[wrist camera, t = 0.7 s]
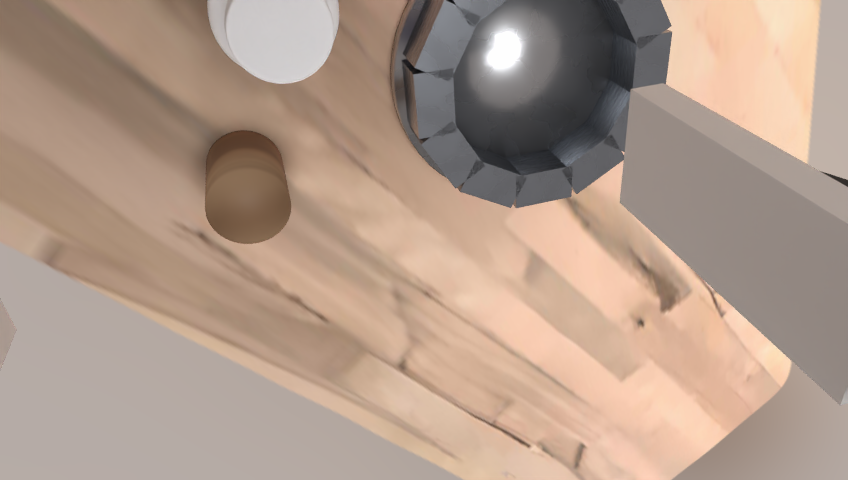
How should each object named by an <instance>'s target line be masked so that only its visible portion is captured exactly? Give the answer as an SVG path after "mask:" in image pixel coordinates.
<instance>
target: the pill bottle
mask: <svg viewBox="0 0 848 480" xmlns="http://www.w3.org/2000/svg"><path fill="white" fill-rule="evenodd" d="M207 10H208V18H209V22H210V26H211V29H212V32H213V34H214V36H215V39H216V41H217V42H218V44H219V46H220V47H221V48H222V50H223V51H224V52H225V53H226V54H227V55H228V56H229V57H230V58H231V59H232V60H233V61H234V62H235V63H237V64H238V65H239V66H241V67H243V68H244V69H245V70H246V71H247V72H249V73H250V74H252V75H253V76H255V77H257V78H259V79H261V80H264V81H266V82H271V83H277V84H288V83H294V82H298V81H301V80H303V79H306V78H307V77H309V76H311V75H312V74H314V73H315V72H316V71H317V70H318V69H319V68H320V67H321V66H322V65H323V64H324V63H325V61H326V60H327V58H328V56H329V54H330V52H331V49H332V46H333V42H334V40H335V37H336V34H337V31H338V25H339V4H338V0H207Z"/></svg>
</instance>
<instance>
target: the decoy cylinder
mask: <svg viewBox="0 0 848 480" xmlns="http://www.w3.org/2000/svg"><path fill="white" fill-rule="evenodd" d="M205 212H206V216H207V219H208V221H209V223H210V225H211V226H212V228H213V229H214V230H215V231H216V232H217V233H218V234H220V235H221V236H222V237H224V238H226V239H228V240H230V241H233V242H237V243H243V244H253V243H259V242H263V241H265V240H268V239H270V238H272V237H273V236H275V235H276V234H278V233H279V232H280V231H281V230H282V229H283V228H284V226H285V225H286V223H287V221H288V219H289V216H290V212H291V201H290V196H289V191H288V186H287V181H286V176H285V172H284V167H283V162H282V158H281V154H280V152H279V150H278V148H277V147H276V146H275V144H274V143H273V142H272V141H271V140H270V139H268V138H267V137H265V136H263V135H261V134H259V133H256V132H252V131H235V132H231V133H229V134H226V135H224V136H222V137H221V138H220V139H218V140H217V141H216V142H215V143H214V144H213V145H212V147H211V149H210V150H209V153H208V155H207V160H206V193H205Z"/></svg>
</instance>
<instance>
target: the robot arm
mask: <svg viewBox="0 0 848 480" xmlns="http://www.w3.org/2000/svg"><path fill="white" fill-rule="evenodd" d="M620 203H621V204H622V205H623V206H624V207H625V208H626V209H627V210H628V211H629V212H631V213H632V214H633V215H634V216H635V217H636V218H637V219H638V220H639V221H640V222H641V223H643V224H644V225H645V226H646V227H647V228H648V229H649V230H650V231H651V232H652V233H653V234H654V235H656V236H657V237H658V238H659V239H660V240H661V241H662V242H663V243H664V244H665V245H666V246H668V247H669V248H670V249H671V250H672V251H673V252H674V253H675V254H676V255H677V256H678V257H679V258H681V259H682V260H683V261H684V262H685V263H686V264H687V265H688V266H689V267H690V268H691V269H693V270H694V271H695V272H696V273H697V274H698V275H699V276H700V277H701V278H702V279H703V280H704V281H706V282H707V283H708V284H709V285H710V286H711V287H712V288H713V289H714V290H715V291H716V292H717V293H719V294H720V295H721V296H722V297H723V298H724V299H725V300H726V301H727V302H728V303H729V304H731V305H732V306H733V307H734V308H735V309H736V310H737V311H738V312H739V313H740V314H741V315H742V316H744V317H745V318H746V319H747V320H748V321H749V322H750V323H751V324H752V325H753V326H754V327H756V328H757V329H758V330H759V331H760V332H761V333H762V334H763V335H764V336H765V337H766V338H767V339H769V340H770V341H771V342H772V343H773V344H774V345H775V346H776V347H777V348H778V349H779V350H781V351H782V352H783V353H784V354H785V355H786V356H787V357H788V358H789V359H790V360H791V361H792V362H794V363H795V364H796V365H797V366H798V367H799V368H800V369H801V370H802V371H803V372H805V373H806V374H807V375H808V376H809V377H810V378H811V379H812V380H813V381H814V382H815V383H816V384H817V385H819V386H820V387H821V388H822V389H823V390H824V391H825V392H826V393H827V394H828V395H829V396H830V397H832V398H833V399H834V400H835V401H836V402H837V403H838V404H839V405H843V404H846V403H848V180H846V179H843V178H840V177H836V176H833V175H831V174H827V173H824V172H821V171H818V170H817V169H815V168H813V167H811V166H810V165H808V164H806V163H804V162H802V161H801V160H799V159H797V158H795V157H794V156H792V155H790V154H788V153H787V152H785V151H783V150H781V149H779V148H778V147H776V146H774V145H772V144H771V143H769V142H767V141H765V140H763V139H762V138H760V137H758V136H756V135H755V134H753V133H751V132H749V131H747V130H746V129H744V128H742V127H740V126H739V125H737V124H735V123H733V122H731V121H730V120H728V119H726V118H724V117H723V116H721V115H719V114H717V113H715V112H714V111H712V110H710V109H708V108H707V107H705V106H703V105H701V104H700V103H698V102H696V101H694V100H692V99H691V98H689V97H687V96H685V95H684V94H682V93H680V92H678V91H676V90H675V89H673V88H671V87H669V86H668V85H666V84H664V83H661V84H656V85H650V86H645V87H639V88H633V89H631V91H630V102H629V112H628V122H627V133H626V143H625V153H624V164H623V174H622V184H621V195H620ZM15 332H16V327H15V326H14V324H13V322H12V320H11V318H10V317H9V314H8V313H7V311H6V309H5V307H4V305H3V303H2V301H1V300H0V370H1V367H2V365H3V362H4V360H5V357H6V355H7V352H8V350H9V347H10V345H11V342H12V340H13V337H14V335H15Z"/></svg>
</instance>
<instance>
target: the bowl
mask: <svg viewBox="0 0 848 480" xmlns="http://www.w3.org/2000/svg"><path fill="white" fill-rule="evenodd" d="M669 27H671V23H670V21H669V19H668V16H667V14H666V12H665V9H664V7H663V5H662V2H661V0H409V2H408V4H407V6H406V8H405V10H404V12H403V14H402V17H401V20H400V23H399V26H398V28H397V31H396V35H395V40H394V45H393V49H392V58H391V88H392V94H393V100H394V105H395V108H396V111H397V114H398V117H399V120H400V122H401V124H402V126H403V128H404V130H405V132H406V134H407V136H408V138H409V139H410V141H411V142H412V144H413V145H414V147H415V148H416V150H417V151H418V153H419V154H420V155H421V156H422V157H423V158H424V159H425V160H426V162H427V163H428V164H429V165H430V166H431V167H433V168H434V169H435V170H436V171H438V172H439V173H440V174H441V175H443V176H445V177H446V178H448V179H449V181H450V182H451V183H452V185H453V186H454V187H455V188H458V189H459V191H460V192H463V193H466V194H469V195H472V196H475V197H479V198H482V199H485V200H488V201H491V202H494V203H497V204H500V205H503V206H507V207H510V208H511V207H512V205H514V206H515V207H516V208H519V207H524V206H529V205H533V204H538V203H543V202H548V201H553V200H558V199H562V198H567V197H571V192H572V190H573V191H574V192H575V193H576V194H578V193H579V192H580V191H582V190H583V189H584V188H586V187H587V186H588V185H590V184H591V183H593V182H594V181H595V180H597V179H598V178H599V177H601V176H602V175H604V174H605V173H606V172H608V171H609V170H610V169H612V168H613V167H614V166H616V165H617V164H619V163H620V162H621V161H623V160H624V155H623V153H622V152H621V151H623V152H625V143H626V133H627V122H628V112H629V102H630V91H631V89H633V88H639V87H645V86H650V85H656V84H661V83H664V84H666V78H667V70H668V62H669V54H670V46H671V37H672V32H671V31H669V30H667V29H668V28H669Z"/></svg>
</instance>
